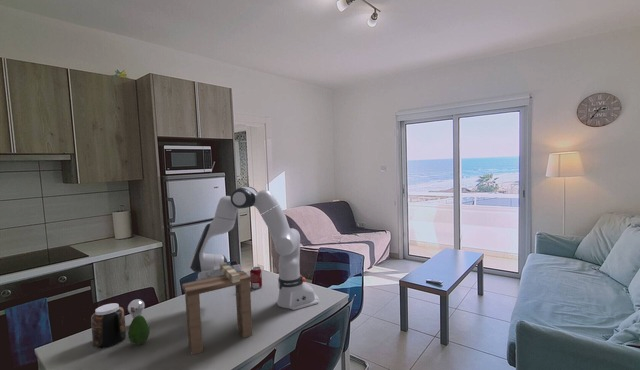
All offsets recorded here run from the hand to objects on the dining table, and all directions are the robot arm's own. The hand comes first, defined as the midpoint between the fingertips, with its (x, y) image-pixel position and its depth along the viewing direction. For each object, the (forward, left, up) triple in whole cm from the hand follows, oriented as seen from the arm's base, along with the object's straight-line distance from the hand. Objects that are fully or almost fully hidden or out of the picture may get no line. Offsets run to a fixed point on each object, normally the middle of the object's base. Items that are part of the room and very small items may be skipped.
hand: (222, 269), depth 148 cm
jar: (+48, -2, -26) cm, 55 cm away
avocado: (+35, +5, -26) cm, 44 cm away
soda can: (-19, -38, -26) cm, 49 cm away
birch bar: (-3, +10, 0) cm, 10 cm away
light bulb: (+40, -14, -26) cm, 50 cm away
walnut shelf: (+2, +14, -26) cm, 30 cm away
